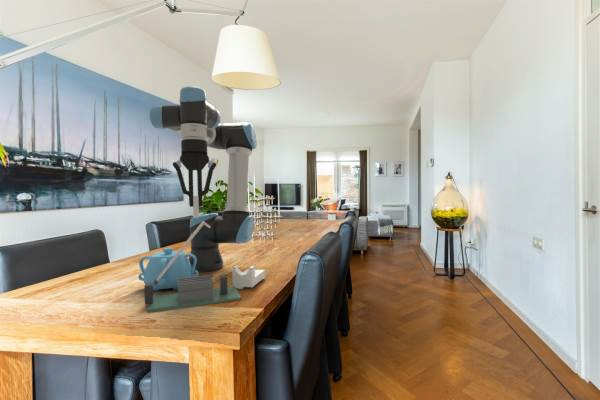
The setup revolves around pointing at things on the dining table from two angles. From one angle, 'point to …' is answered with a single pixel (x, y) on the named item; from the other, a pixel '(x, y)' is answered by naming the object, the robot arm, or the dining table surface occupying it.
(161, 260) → the decorative pot
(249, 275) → the bracket
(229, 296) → the heatsink board
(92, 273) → the dining table surface
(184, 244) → the strap
